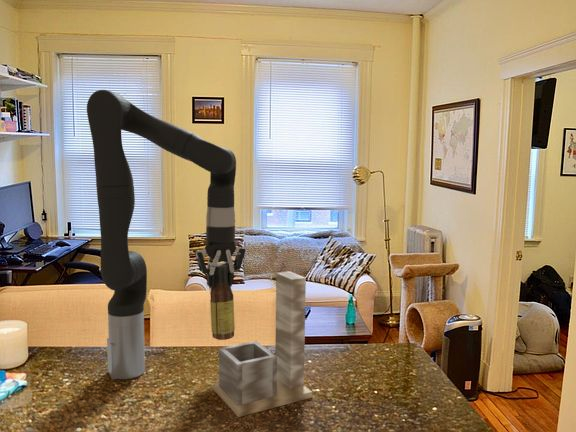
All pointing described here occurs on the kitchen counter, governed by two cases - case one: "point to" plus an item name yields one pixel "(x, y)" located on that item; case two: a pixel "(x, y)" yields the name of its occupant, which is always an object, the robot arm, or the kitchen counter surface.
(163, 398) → the kitchen counter surface
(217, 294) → the sauce bottle
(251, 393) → the grey holder stand
